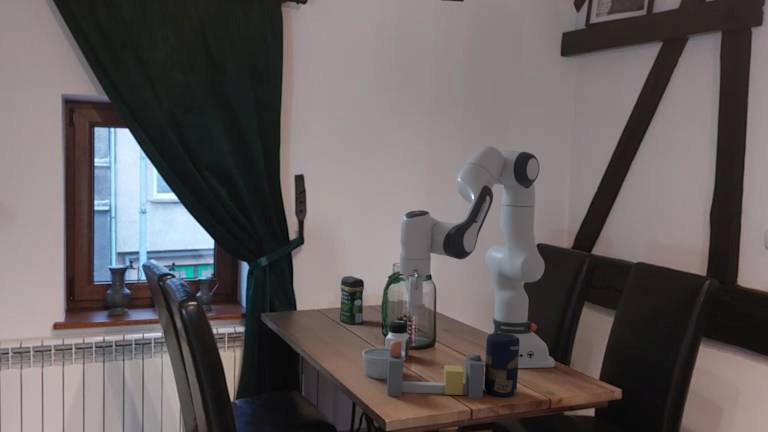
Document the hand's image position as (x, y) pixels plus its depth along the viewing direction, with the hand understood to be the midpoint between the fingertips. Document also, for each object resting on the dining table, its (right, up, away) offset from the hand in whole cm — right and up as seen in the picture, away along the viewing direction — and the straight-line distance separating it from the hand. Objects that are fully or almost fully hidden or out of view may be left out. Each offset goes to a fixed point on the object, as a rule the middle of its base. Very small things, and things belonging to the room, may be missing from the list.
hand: (413, 315), depth 204 cm
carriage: (+11, -23, +2) cm, 25 cm away
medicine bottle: (-4, -19, +36) cm, 41 cm away
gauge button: (-5, -12, +1) cm, 13 cm away
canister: (+25, -23, +3) cm, 35 cm away
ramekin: (-9, -21, +16) cm, 28 cm away
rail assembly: (+6, -23, +2) cm, 23 cm away
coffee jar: (-22, -15, +84) cm, 88 cm away
